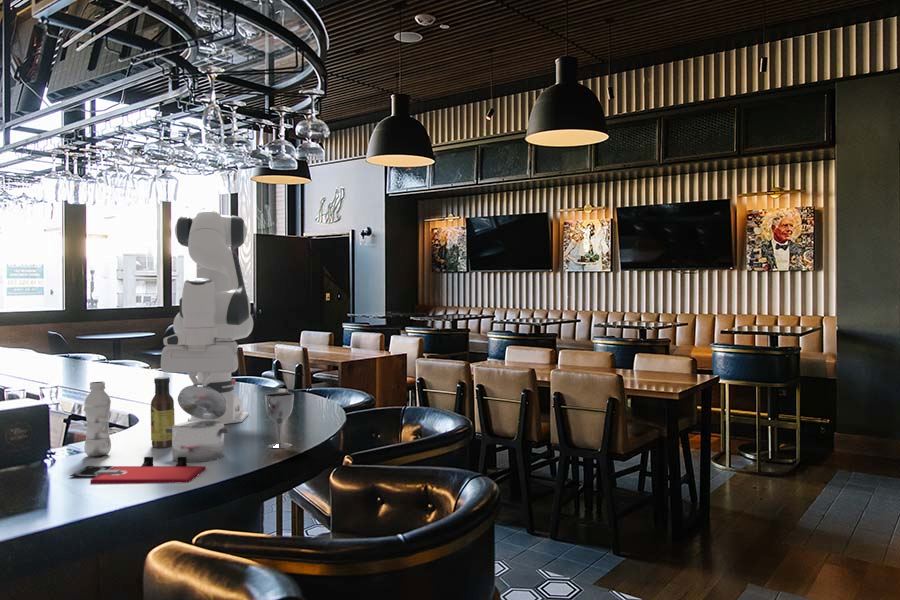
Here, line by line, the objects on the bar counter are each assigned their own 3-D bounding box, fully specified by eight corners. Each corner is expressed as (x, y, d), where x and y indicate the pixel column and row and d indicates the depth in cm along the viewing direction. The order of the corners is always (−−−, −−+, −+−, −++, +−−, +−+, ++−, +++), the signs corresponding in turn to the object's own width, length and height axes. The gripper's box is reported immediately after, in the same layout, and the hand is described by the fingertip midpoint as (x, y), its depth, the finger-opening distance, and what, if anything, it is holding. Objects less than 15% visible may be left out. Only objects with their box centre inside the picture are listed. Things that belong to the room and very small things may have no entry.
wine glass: (286, 450, 183) (286, 396, 183) (260, 448, 185) (259, 395, 185) (298, 443, 191) (298, 392, 191) (273, 442, 193) (273, 391, 193)
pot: (181, 449, 184) (181, 419, 184) (239, 450, 183) (239, 420, 183) (156, 462, 170) (155, 429, 170) (219, 463, 169) (218, 430, 169)
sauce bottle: (154, 444, 192) (154, 376, 191) (177, 443, 193) (176, 375, 192) (148, 449, 185) (147, 378, 185) (171, 448, 186) (171, 378, 186)
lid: (185, 419, 183) (189, 411, 185) (231, 419, 182) (234, 411, 184) (171, 387, 174) (175, 379, 177) (218, 387, 174) (222, 379, 176)
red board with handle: (91, 467, 166) (57, 485, 151) (91, 456, 166) (57, 473, 151) (210, 467, 167) (188, 485, 152) (210, 456, 167) (188, 473, 152)
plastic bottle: (106, 451, 182) (106, 380, 182) (114, 455, 177) (114, 382, 177) (81, 455, 178) (80, 382, 178) (88, 460, 173) (88, 384, 173)
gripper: (241, 337, 179) (242, 387, 179) (168, 337, 180) (169, 387, 181) (232, 338, 173) (233, 391, 173) (157, 338, 174) (158, 390, 174)
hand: (200, 389), depth 177 cm, fingers closed, pressing on lid
